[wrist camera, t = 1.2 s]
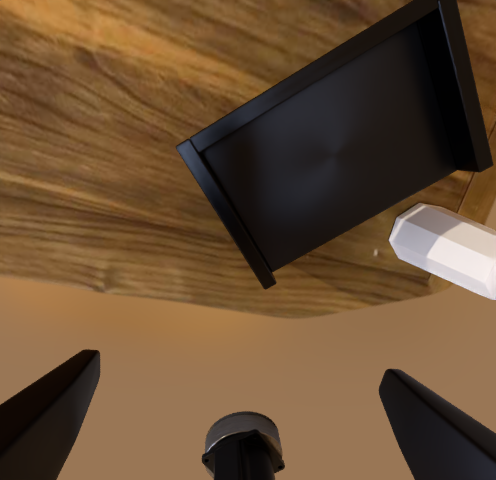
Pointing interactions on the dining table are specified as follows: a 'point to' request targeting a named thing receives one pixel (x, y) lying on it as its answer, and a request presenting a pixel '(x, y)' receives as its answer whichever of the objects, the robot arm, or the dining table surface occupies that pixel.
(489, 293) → the salt shaker
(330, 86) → the black open box
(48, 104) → the dining table surface
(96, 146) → the dining table surface
